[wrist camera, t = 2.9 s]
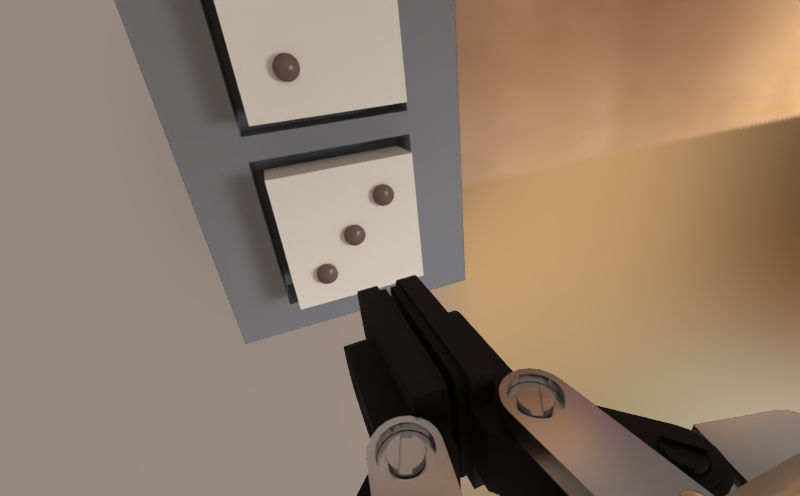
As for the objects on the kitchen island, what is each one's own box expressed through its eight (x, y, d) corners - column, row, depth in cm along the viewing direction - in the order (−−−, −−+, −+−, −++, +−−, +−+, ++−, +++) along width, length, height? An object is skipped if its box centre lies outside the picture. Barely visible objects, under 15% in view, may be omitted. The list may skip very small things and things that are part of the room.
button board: (391, -423, 13) (433, -581, 10) (439, 254, 24) (465, 279, 21) (-48, -517, 10) (-187, -788, 7) (247, 306, 21) (245, 343, 18)
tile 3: (396, 145, 17) (413, 153, 15) (409, 258, 20) (425, 277, 18) (264, 169, 16) (264, 182, 14) (297, 288, 19) (301, 312, 17)
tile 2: (372, -74, 14) (389, -99, 12) (391, 99, 16) (408, 102, 15) (197, -69, 12) (185, -96, 10) (250, 120, 15) (249, 127, 13)
